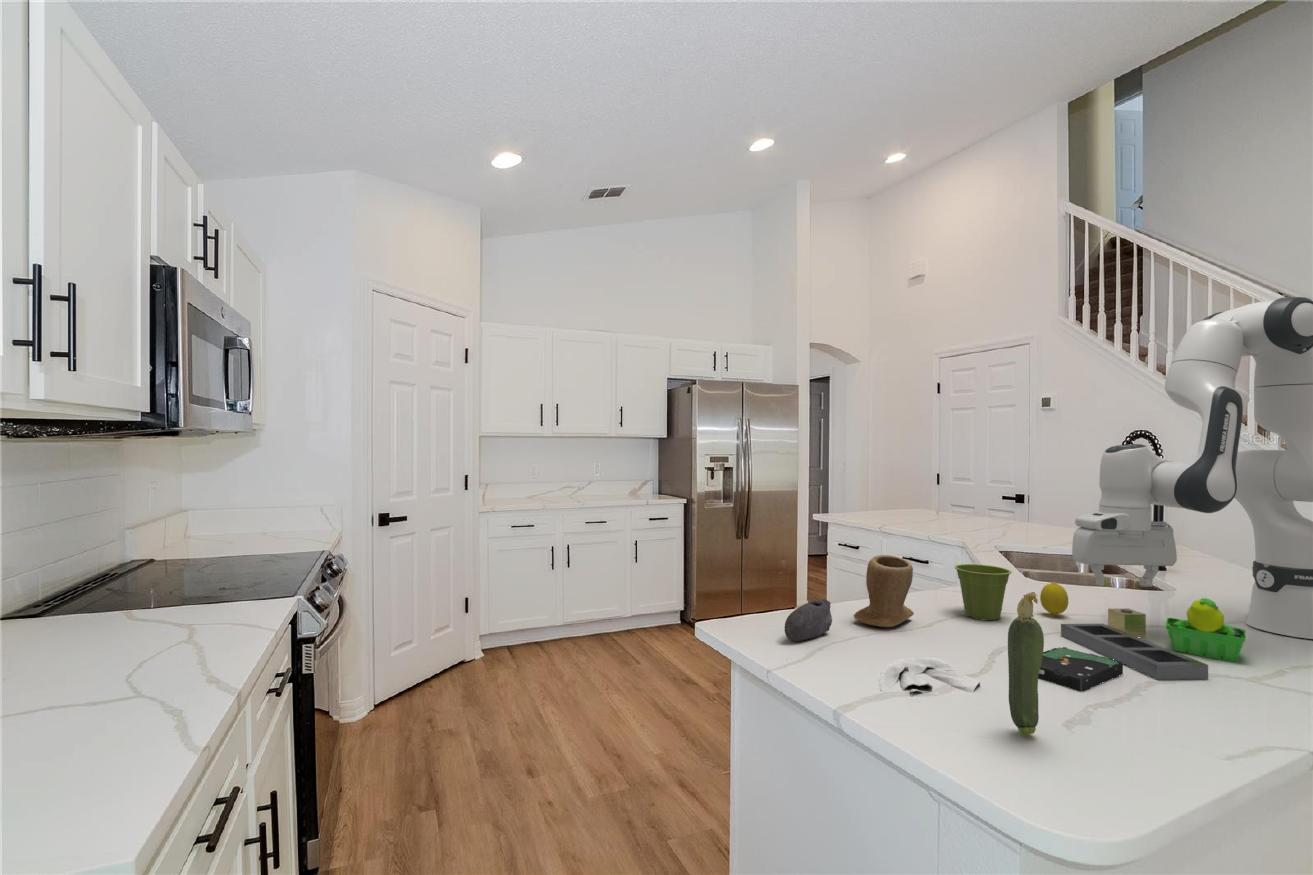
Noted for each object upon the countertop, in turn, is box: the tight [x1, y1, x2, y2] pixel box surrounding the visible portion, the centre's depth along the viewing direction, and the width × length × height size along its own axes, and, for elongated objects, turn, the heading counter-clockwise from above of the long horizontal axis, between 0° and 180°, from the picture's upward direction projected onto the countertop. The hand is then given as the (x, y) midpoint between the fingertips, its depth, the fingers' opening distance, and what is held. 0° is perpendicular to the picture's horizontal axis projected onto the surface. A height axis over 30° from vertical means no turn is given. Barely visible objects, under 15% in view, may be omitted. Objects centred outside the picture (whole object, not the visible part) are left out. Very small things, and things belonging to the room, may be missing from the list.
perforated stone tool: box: [783, 598, 833, 642], centre depth 128 cm, size 15×5×7 cm, turn 130°
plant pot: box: [954, 563, 1013, 621], centre depth 143 cm, size 12×12×11 cm
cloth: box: [878, 657, 981, 697], centre depth 104 cm, size 20×22×2 cm
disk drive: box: [1038, 646, 1124, 692], centre depth 108 cm, size 10×3×15 cm
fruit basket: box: [1164, 597, 1247, 663], centre depth 118 cm, size 11×9×11 cm
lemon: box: [1039, 581, 1069, 617], centre depth 143 cm, size 6×6×8 cm
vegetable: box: [1007, 591, 1045, 738], centre depth 85 cm, size 4×4×20 cm
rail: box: [1060, 623, 1209, 681], centre depth 117 cm, size 9×24×2 cm, turn 1°
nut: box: [1107, 608, 1147, 638], centre depth 130 cm, size 4×4×5 cm
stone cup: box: [853, 554, 915, 628], centre depth 138 cm, size 15×12×15 cm
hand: (1123, 585), depth 129 cm, fingers open, 8 cm apart
